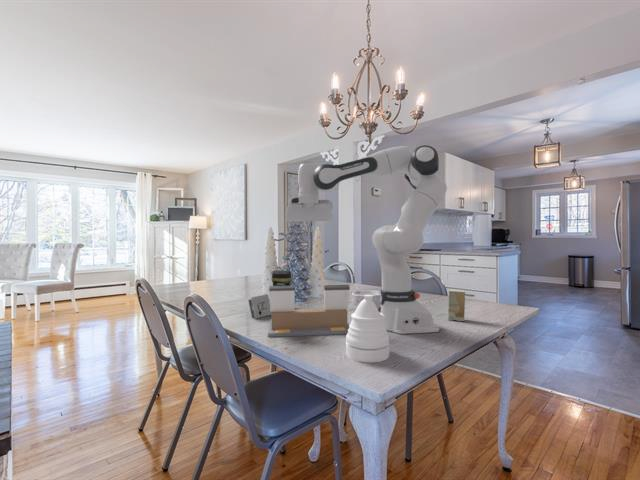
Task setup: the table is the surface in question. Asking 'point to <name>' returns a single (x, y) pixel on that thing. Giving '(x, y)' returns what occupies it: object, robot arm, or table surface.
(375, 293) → the clear glass bowl
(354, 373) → the table surface
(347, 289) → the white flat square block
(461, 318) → the skincare box
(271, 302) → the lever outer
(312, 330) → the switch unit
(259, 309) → the electrical switch
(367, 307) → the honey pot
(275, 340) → the table surface
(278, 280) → the coffee jar
